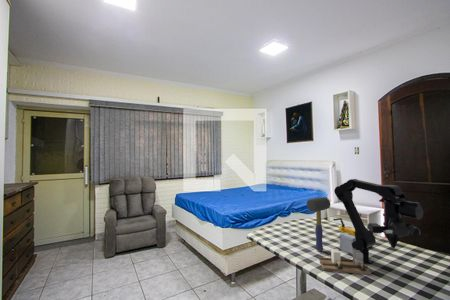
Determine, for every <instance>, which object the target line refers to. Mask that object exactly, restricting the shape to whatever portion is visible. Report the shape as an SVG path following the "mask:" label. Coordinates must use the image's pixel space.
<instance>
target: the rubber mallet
mask: <svg viewBox="0 0 450 300" xmlns="http://www.w3.org/2000/svg"><path fill="white" fill-rule="evenodd" d="M306 207H307V210H309V211H310V212H315V213H316V215H315V216H316V217H315V218H316V221H315V222H316V224H315V233H314V234H315V249H316V251H317V252H323V249H324V245H323V236H324V235H323V234H324V233H323V226H322V211H325V210H328V209H329V208H330V207H331V201H330V199H329V198H328V197H326V196H319V197H313V198H309V199H307V200H306Z"/></svg>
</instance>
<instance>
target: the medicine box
mask: <svg viewBox="0 0 450 300" xmlns="http://www.w3.org/2000/svg"><path fill="white" fill-rule="evenodd" d="M354 241H356V238H355V236H353V235H349V234H348V233H342V232H341V233H340V234H339V249H340V250H342V251H343V252H346V253H349V254H351V255H353V250H356V249H354V248H353V247H352V244H351V243H353V242H354Z"/></svg>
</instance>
